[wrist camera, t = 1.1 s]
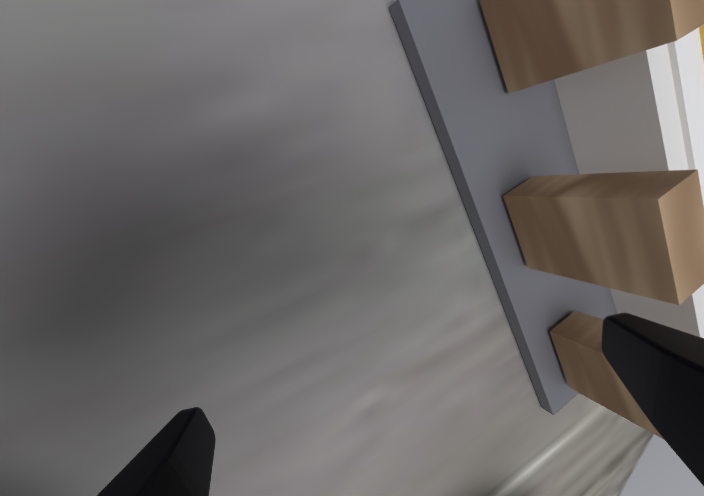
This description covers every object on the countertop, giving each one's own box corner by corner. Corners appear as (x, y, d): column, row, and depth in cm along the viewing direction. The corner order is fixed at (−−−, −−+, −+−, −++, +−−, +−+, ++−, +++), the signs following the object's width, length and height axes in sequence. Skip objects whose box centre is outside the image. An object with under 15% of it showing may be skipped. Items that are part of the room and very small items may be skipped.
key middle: (527, 267, 23) (679, 305, 16) (503, 195, 21) (657, 199, 14) (556, 247, 24) (714, 274, 16) (533, 175, 22) (697, 169, 15)
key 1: (568, 387, 26) (711, 465, 19) (549, 331, 24) (697, 392, 17) (592, 366, 27) (740, 434, 19) (575, 310, 25) (728, 361, 18)
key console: (541, 407, 27) (636, 469, 21) (388, 8, 19) (474, -77, 13) (691, 278, 32) (804, 299, 26) (622, -93, 23) (766, -192, 17)
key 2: (508, 93, 21) (676, 40, 13) (478, -2, 19) (650, -122, 12) (540, 76, 21) (718, 15, 14) (514, -18, 20) (698, -142, 12)
